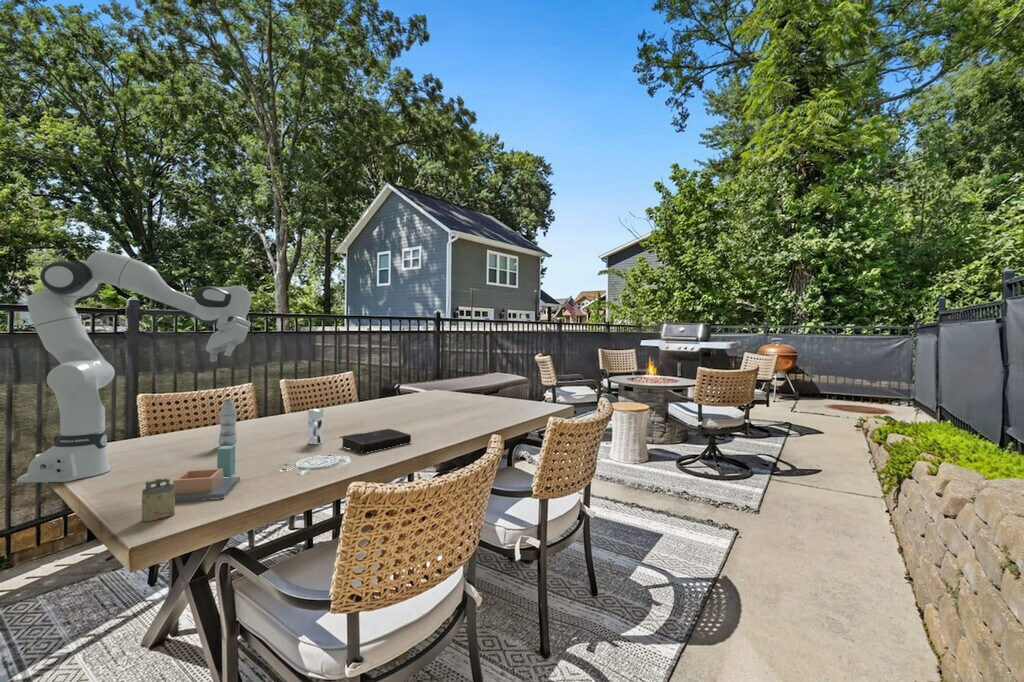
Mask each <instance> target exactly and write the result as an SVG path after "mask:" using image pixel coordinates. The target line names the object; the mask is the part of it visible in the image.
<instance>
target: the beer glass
mask: <svg viewBox="0 0 1024 682" xmlns="http://www.w3.org/2000/svg"><path fill="white" fill-rule="evenodd" d="M324 422H325V415H324V409H323V408H310V409H307V415H306V425H307V430H308V441H307V444H308V443H309V444H317V445H319V444H318V443H321V444H323V443H322V442H323V435H322V434H323V429H324ZM309 444H308V445H309Z"/></svg>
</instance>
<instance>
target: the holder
mask: <svg viewBox="0 0 1024 682" xmlns="http://www.w3.org/2000/svg"><path fill="white" fill-rule="evenodd" d="M239 481H241V477H240V476H232V477H229V478H223V468H220V469H217V468H207V469H190V470H188V469H187V470H186V471H184V472H183V473H182V474H180V475H179V476H178V477H176V478H175V479H174V480H173V481H172V482H173V483H172V484H174V485H175V503H183V501H187V502H193V501H192V500H199V501H203V500H202V499H211V498H222V497H223V498H224V497H225V496H226V495H227V494H228V493H229V492H230V491H231V492H232V491H233V489H234V488H235V487H236V486H237V485H238V484H239V483H240V482H239ZM238 482H239V483H238ZM237 483H238V484H237ZM236 484H237V485H236ZM235 485H236V486H235ZM234 486H235V487H234ZM233 487H234V488H233ZM232 488H233V489H232ZM231 492H230V493H231ZM230 493H229V494H230ZM227 496H228V495H227ZM227 496H226V497H227ZM226 497H225V498H226ZM225 498H224V499H225Z"/></svg>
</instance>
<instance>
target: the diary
mask: <svg viewBox="0 0 1024 682" xmlns="http://www.w3.org/2000/svg"><path fill="white" fill-rule="evenodd" d="M339 438H340V439H342V446H343V447H346V448H350V449H353V450H352V451H354V450H356V451H355V452H357V451H360V452H359V453H361V451H362V452H363V453H365V454H368V453H367V452H370V453H372V452H371V451H374V452H376V451H375V450H378V451H380V450H379V449H383V450H385V449H384V448H387V449H389V448H388V447H392V446H396V445H400V444H404V443H409V442H412V436H411V434H409V433H405V432H403V431H400V430H396V429H392V428H386V429H385V428H384V429H380V430H374V431H369V432H363V433H353V434H348V435H342V436H339ZM409 444H410V443H409ZM400 446H401V445H400ZM396 447H397V446H396ZM392 448H393V447H392ZM363 453H361V454H362V455H364V454H363Z"/></svg>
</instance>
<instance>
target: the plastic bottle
mask: <svg viewBox="0 0 1024 682" xmlns="http://www.w3.org/2000/svg"><path fill="white" fill-rule="evenodd" d="M222 405H223V406H222V408H220V410H219V420H220V422H219V423H220V430H219V431H220V432H219V437H218V445H219V446H220V447H222V446H236V444H237V441H238V439H237V437H238V436H237V433H236V424H237V423H236V422H237V417H238V410H237V408H236V407H235V406H234V399H223V401H222Z"/></svg>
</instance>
